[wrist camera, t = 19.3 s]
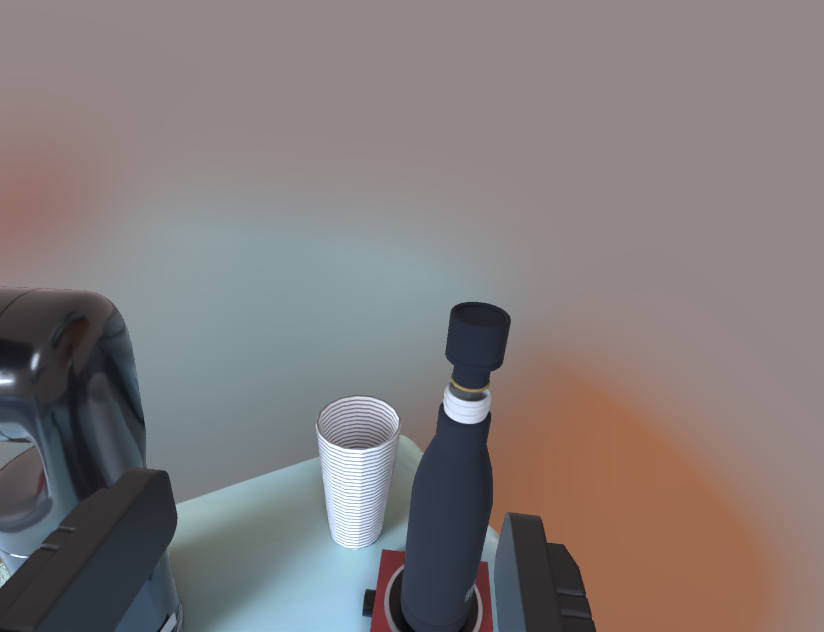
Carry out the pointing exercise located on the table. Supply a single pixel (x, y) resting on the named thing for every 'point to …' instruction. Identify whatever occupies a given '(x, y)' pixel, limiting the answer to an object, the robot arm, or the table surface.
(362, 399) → the cup
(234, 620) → the table surface
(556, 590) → the robot arm
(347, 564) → the table surface
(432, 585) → the water bottle
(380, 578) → the hot plate
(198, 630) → the table surface
